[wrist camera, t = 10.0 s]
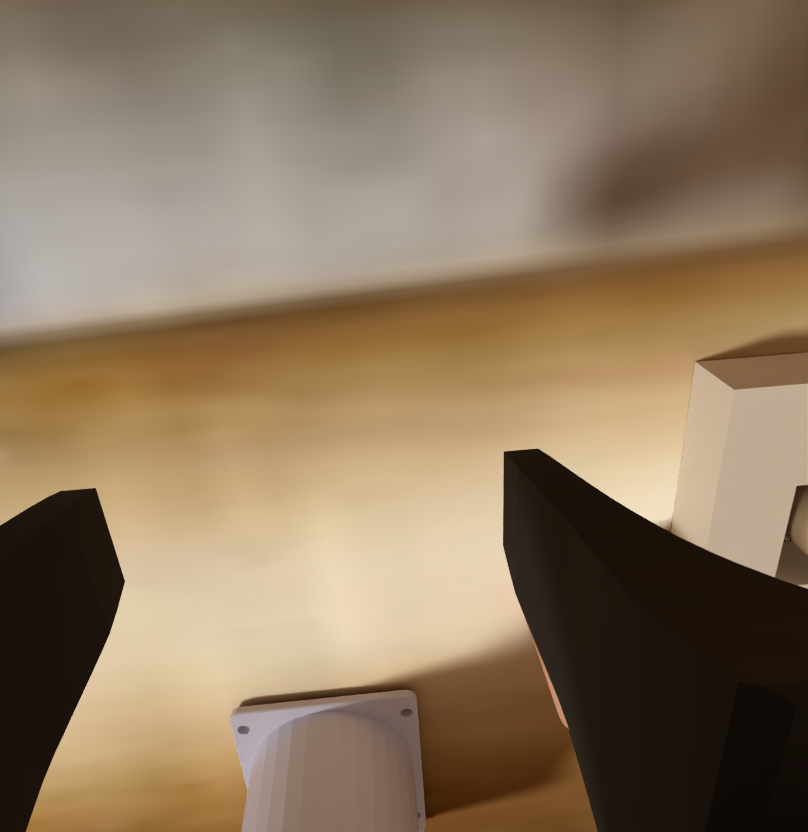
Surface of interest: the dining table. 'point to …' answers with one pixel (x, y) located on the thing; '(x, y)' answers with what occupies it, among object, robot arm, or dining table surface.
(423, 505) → the dining table surface
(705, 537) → the hole plate
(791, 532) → the beech pin
